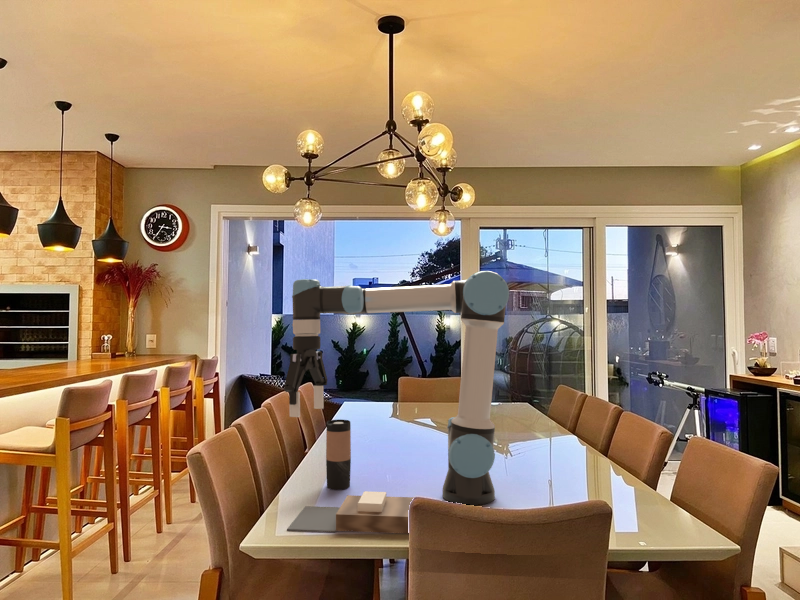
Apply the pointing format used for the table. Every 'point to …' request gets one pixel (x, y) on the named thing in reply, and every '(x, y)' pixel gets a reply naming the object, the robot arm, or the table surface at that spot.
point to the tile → (372, 501)
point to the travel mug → (338, 454)
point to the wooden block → (374, 516)
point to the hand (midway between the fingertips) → (307, 412)
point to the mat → (315, 519)
